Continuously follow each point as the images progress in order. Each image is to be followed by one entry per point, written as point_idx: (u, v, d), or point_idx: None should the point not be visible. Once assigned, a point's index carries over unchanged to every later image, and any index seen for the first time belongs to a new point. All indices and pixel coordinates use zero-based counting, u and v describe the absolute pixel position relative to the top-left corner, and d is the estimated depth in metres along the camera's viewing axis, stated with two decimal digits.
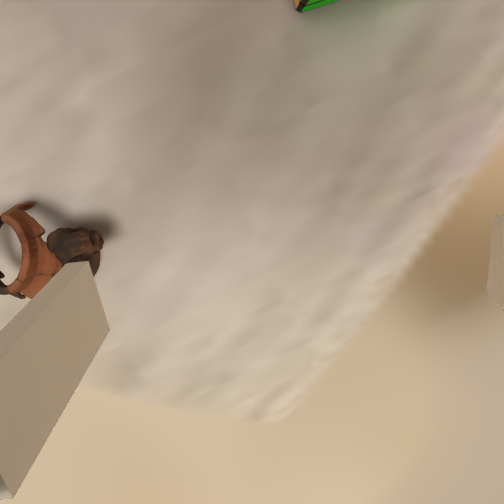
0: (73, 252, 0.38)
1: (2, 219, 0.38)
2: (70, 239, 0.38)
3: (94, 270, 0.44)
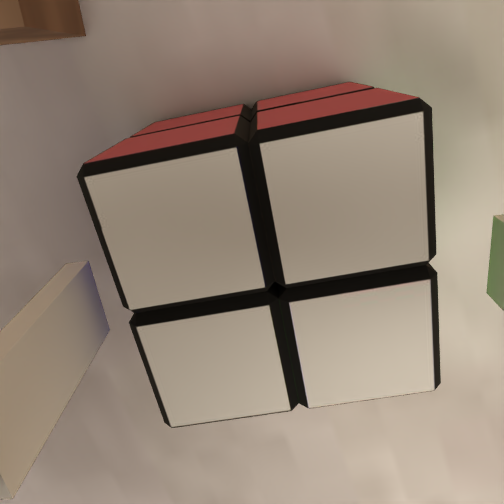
0: None
1: None
2: None
3: None
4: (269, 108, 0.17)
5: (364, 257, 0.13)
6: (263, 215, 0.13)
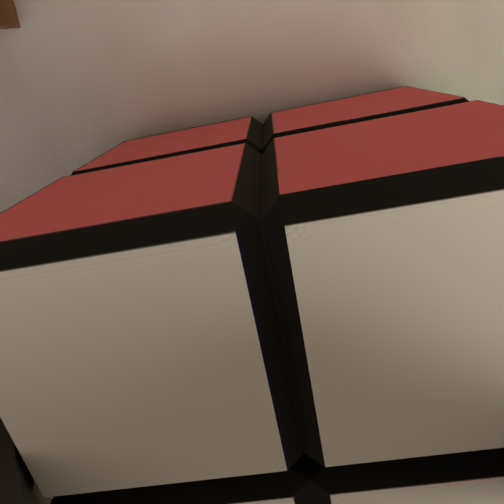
0: None
1: None
2: None
3: None
4: (293, 130, 0.10)
5: (478, 429, 0.07)
6: (287, 350, 0.07)
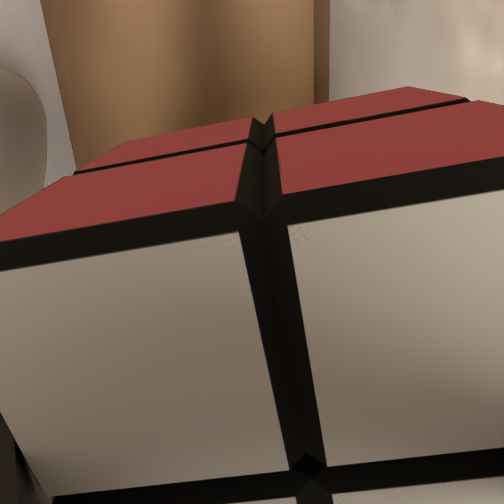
0: None
1: None
2: None
3: None
4: (294, 130, 0.10)
5: (480, 429, 0.07)
6: (289, 349, 0.07)
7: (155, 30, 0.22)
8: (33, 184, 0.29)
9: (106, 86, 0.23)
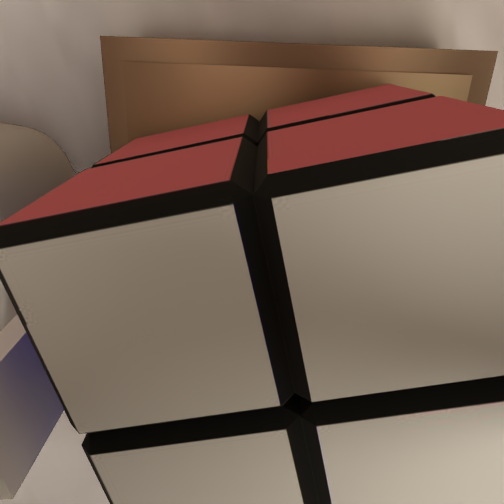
0: None
1: None
2: None
3: None
4: (284, 125, 0.12)
5: (435, 366, 0.08)
6: (277, 303, 0.08)
7: (252, 110, 0.16)
8: None
9: None
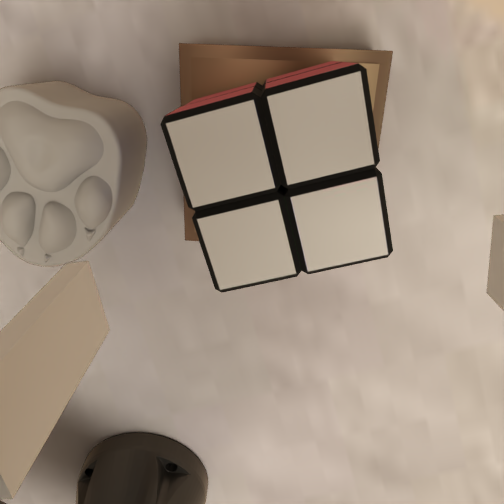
0: None
1: None
2: None
3: None
4: (273, 80, 0.25)
5: (334, 164, 0.22)
6: (271, 141, 0.21)
7: (261, 83, 0.30)
8: (134, 190, 0.37)
9: None
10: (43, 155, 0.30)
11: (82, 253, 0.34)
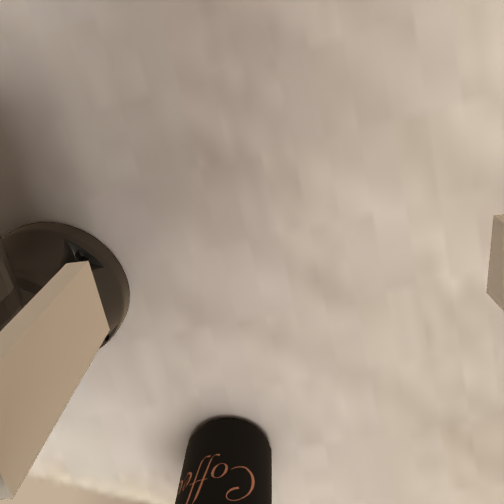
0: None
1: None
2: None
3: None
4: None
5: None
6: None
7: None
8: None
9: None
10: None
11: None
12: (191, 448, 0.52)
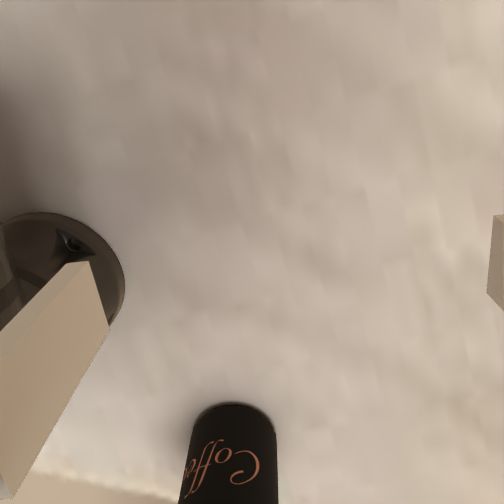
0: None
1: None
2: None
3: None
4: None
5: None
6: None
7: None
8: None
9: None
10: None
11: None
12: (194, 436, 0.52)
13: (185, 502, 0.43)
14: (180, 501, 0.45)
